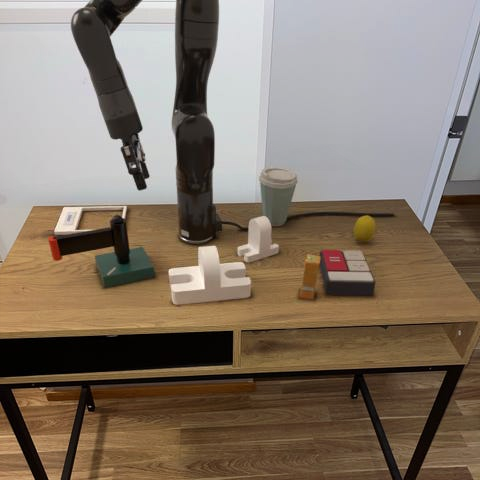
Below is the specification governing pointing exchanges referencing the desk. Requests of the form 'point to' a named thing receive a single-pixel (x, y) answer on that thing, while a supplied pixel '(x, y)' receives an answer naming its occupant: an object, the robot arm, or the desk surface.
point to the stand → (124, 267)
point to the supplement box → (310, 276)
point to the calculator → (346, 273)
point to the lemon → (364, 228)
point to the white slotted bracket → (209, 280)
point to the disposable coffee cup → (277, 193)
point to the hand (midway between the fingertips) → (144, 183)
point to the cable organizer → (258, 241)
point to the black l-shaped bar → (93, 240)
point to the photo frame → (78, 218)
